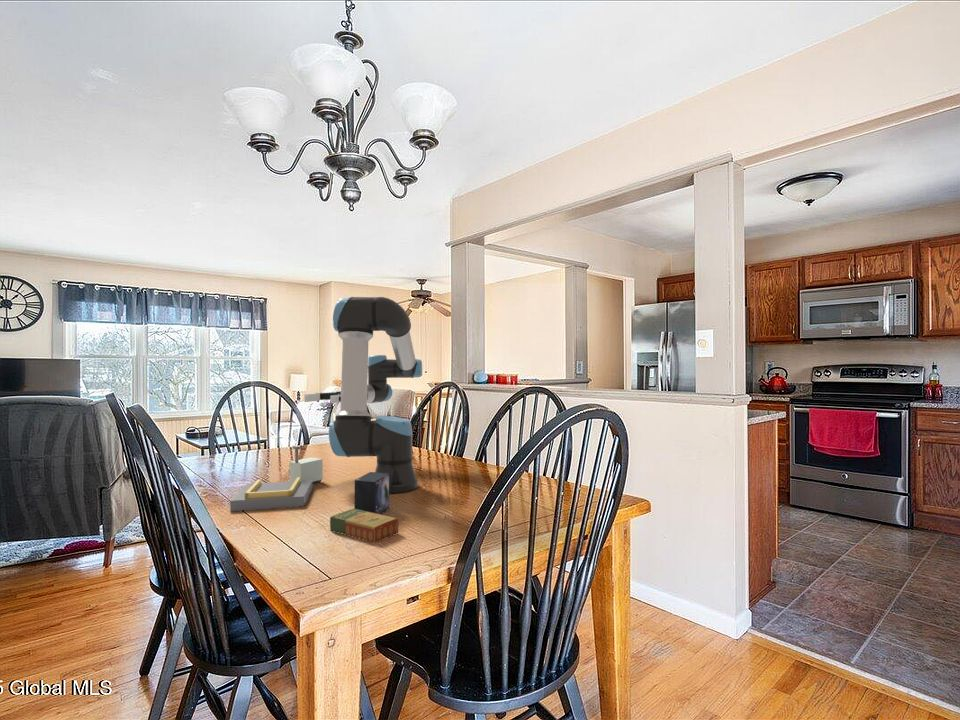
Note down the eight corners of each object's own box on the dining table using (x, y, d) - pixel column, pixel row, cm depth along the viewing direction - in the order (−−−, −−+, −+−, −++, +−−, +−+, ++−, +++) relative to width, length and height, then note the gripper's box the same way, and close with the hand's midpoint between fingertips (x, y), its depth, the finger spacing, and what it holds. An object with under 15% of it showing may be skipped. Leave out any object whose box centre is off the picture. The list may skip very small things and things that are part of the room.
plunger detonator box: (322, 482, 181) (322, 443, 180) (301, 487, 173) (300, 447, 173) (311, 479, 184) (311, 441, 184) (289, 485, 176) (289, 445, 176)
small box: (376, 520, 138) (375, 481, 138) (353, 518, 140) (352, 480, 139) (390, 508, 149) (390, 472, 148) (369, 507, 150) (368, 471, 150)
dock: (312, 489, 171) (312, 475, 171) (304, 506, 151) (303, 491, 151) (247, 493, 167) (247, 479, 167) (230, 511, 147) (230, 495, 147)
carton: (374, 545, 121) (373, 526, 121) (329, 532, 130) (328, 515, 130) (399, 534, 128) (398, 517, 128) (354, 522, 137) (354, 506, 137)
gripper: (384, 405, 198) (342, 410, 180) (338, 403, 211) (295, 407, 193) (384, 385, 198) (342, 389, 180) (338, 384, 211) (294, 387, 193)
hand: (317, 398), depth 186 cm, fingers open, 13 cm apart
